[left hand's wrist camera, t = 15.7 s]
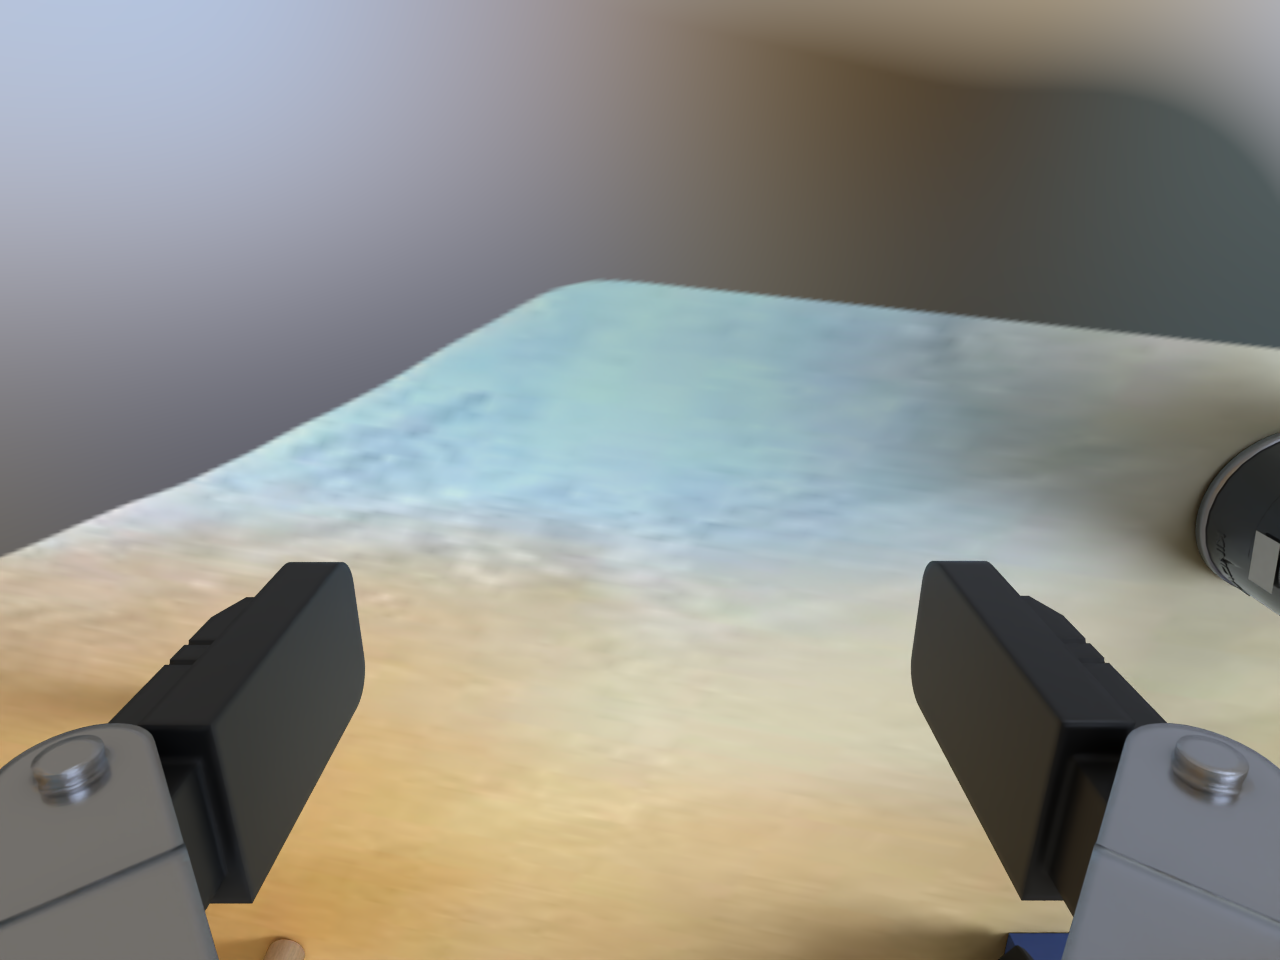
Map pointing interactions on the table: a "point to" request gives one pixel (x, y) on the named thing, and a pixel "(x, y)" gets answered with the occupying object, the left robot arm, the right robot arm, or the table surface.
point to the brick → (1039, 944)
